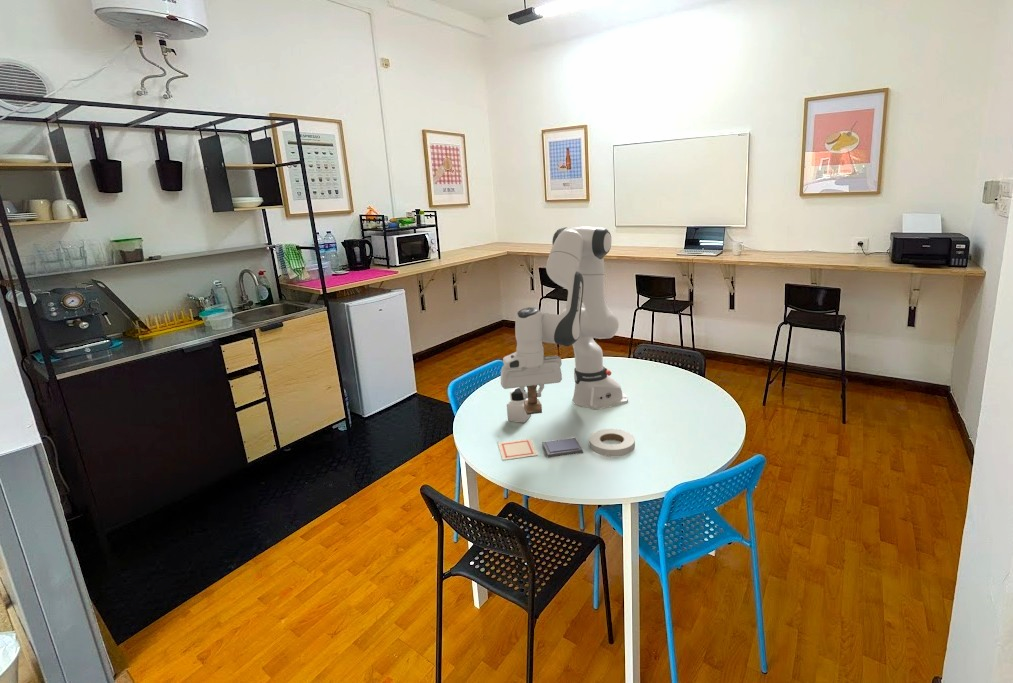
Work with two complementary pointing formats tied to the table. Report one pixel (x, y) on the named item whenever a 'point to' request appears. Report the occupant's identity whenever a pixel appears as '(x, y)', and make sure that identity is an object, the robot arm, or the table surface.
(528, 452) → the tan card
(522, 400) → the medicine bottle
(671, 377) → the table surface
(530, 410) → the walnut stamp
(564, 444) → the ink pad
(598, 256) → the robot arm
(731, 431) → the table surface
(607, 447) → the roll of tape
